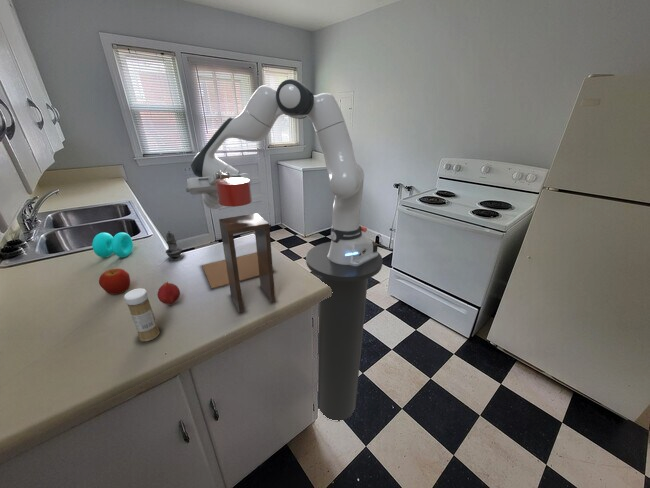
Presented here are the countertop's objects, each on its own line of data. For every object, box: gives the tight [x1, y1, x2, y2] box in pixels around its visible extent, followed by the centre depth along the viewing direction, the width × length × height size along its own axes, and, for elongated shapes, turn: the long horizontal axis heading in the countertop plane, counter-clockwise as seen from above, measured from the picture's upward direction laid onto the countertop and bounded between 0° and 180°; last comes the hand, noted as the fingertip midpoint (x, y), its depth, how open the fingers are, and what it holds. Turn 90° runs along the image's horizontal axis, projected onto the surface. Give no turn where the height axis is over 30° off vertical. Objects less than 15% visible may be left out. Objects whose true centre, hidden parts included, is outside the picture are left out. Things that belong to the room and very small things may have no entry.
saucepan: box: [216, 171, 253, 208], centre depth 81 cm, size 9×22×6 cm, turn 32°
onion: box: [156, 281, 181, 306], centre depth 80 cm, size 6×6×8 cm
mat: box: [201, 252, 275, 290], centre depth 101 cm, size 22×18×1 cm
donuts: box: [91, 231, 134, 258], centre depth 107 cm, size 10×10×10 cm
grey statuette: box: [165, 230, 184, 262], centre depth 106 cm, size 6×6×12 cm
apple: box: [98, 268, 131, 295], centre depth 86 cm, size 8×8×8 cm
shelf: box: [218, 212, 276, 314], centre depth 80 cm, size 11×10×26 cm
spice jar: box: [123, 287, 161, 342], centre depth 67 cm, size 5×5×13 cm
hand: (222, 175), depth 84 cm, fingers closed on saucepan, 2 cm apart
